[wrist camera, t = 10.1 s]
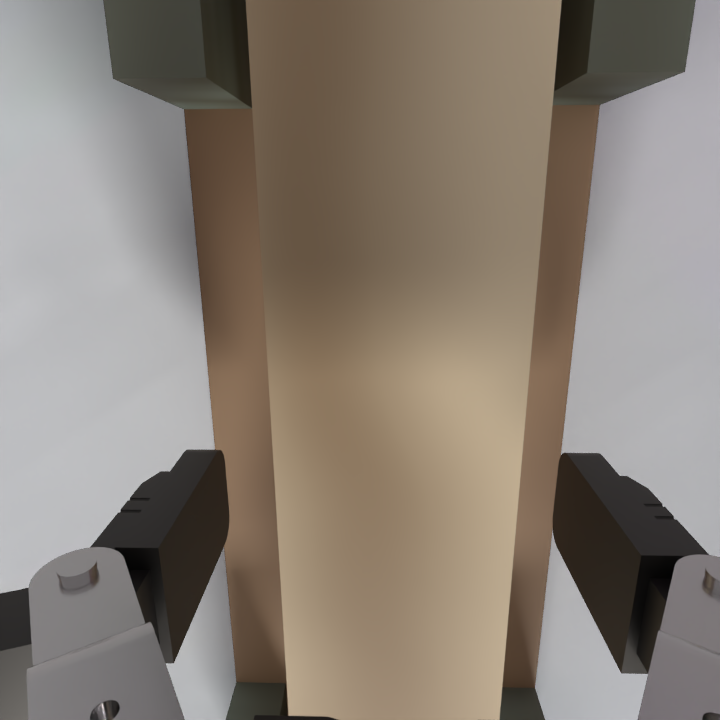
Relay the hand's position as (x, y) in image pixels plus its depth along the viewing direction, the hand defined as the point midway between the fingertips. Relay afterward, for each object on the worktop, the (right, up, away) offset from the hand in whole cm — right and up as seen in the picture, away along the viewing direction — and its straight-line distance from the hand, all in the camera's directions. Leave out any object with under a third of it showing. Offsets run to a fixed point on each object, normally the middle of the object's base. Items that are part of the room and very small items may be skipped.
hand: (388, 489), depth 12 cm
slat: (0, +1, +2) cm, 2 cm away
